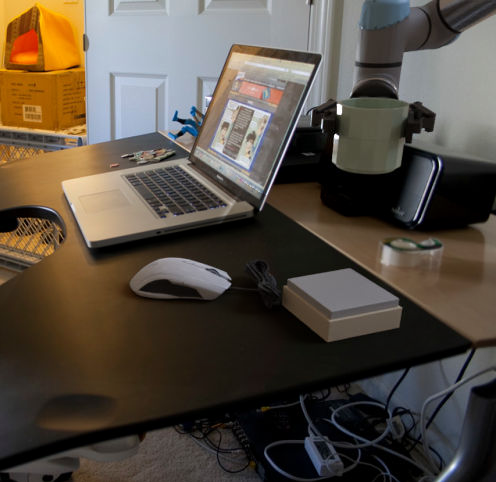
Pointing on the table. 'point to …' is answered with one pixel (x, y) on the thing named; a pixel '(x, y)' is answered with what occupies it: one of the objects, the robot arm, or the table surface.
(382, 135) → the pale green cup
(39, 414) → the table surface
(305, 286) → the scale
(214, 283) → the computer mouse
